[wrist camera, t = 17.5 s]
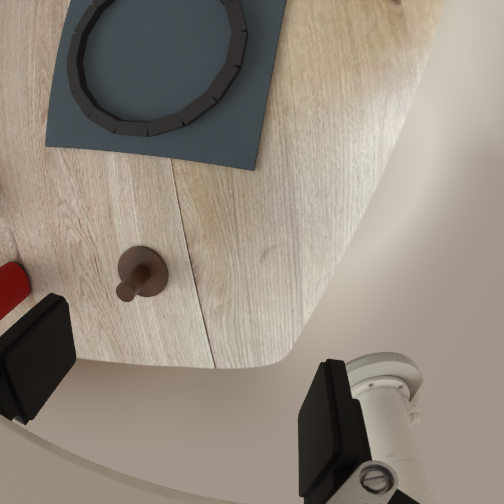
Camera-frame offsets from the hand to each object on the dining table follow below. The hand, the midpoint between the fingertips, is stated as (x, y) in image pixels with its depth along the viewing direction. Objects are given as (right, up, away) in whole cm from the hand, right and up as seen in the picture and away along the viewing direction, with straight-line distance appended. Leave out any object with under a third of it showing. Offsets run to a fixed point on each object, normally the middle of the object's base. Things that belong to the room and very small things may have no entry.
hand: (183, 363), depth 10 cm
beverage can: (-37, -1, +33) cm, 49 cm away
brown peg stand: (-12, +1, +30) cm, 32 cm away
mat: (-9, +27, +19) cm, 35 cm away
